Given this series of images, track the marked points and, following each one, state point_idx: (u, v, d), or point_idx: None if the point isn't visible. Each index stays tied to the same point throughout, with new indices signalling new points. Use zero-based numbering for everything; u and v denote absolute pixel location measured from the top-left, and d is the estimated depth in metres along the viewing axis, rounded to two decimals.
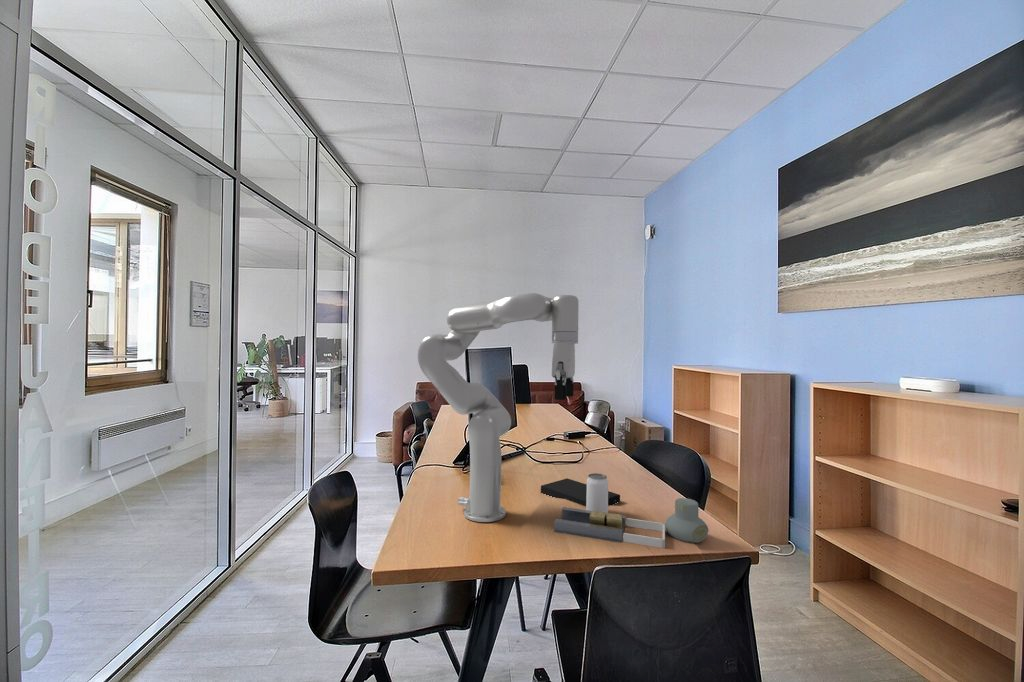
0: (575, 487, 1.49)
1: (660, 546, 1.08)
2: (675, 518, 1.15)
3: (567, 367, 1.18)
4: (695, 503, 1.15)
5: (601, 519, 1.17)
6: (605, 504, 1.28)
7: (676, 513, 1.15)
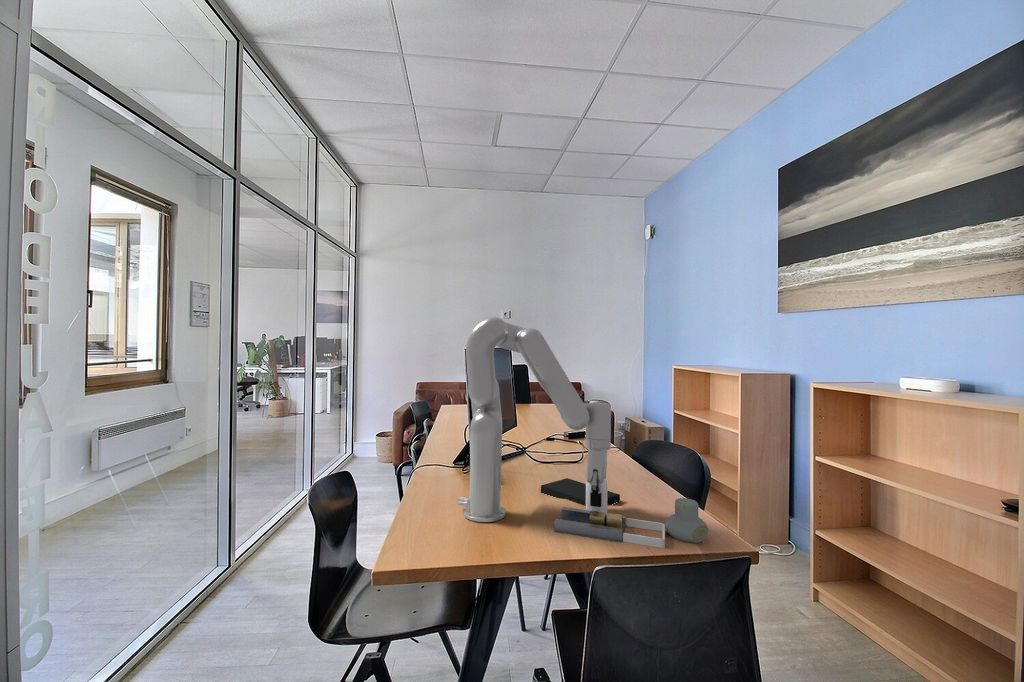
0: (575, 487, 1.49)
1: (660, 546, 1.08)
2: (675, 518, 1.15)
3: (601, 475, 1.26)
4: (695, 503, 1.15)
5: (601, 519, 1.17)
6: (604, 504, 1.28)
7: (676, 513, 1.15)
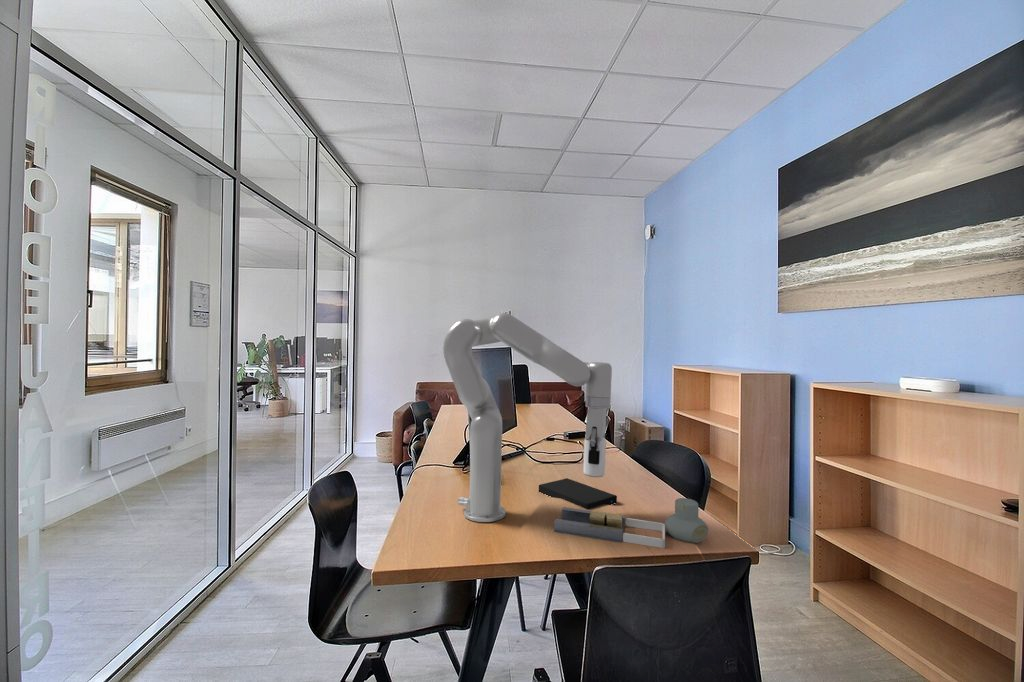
0: (572, 487, 1.49)
1: (660, 546, 1.08)
2: (675, 518, 1.15)
3: (600, 432, 1.26)
4: (695, 503, 1.15)
5: (601, 519, 1.17)
6: (602, 462, 1.29)
7: (676, 513, 1.15)
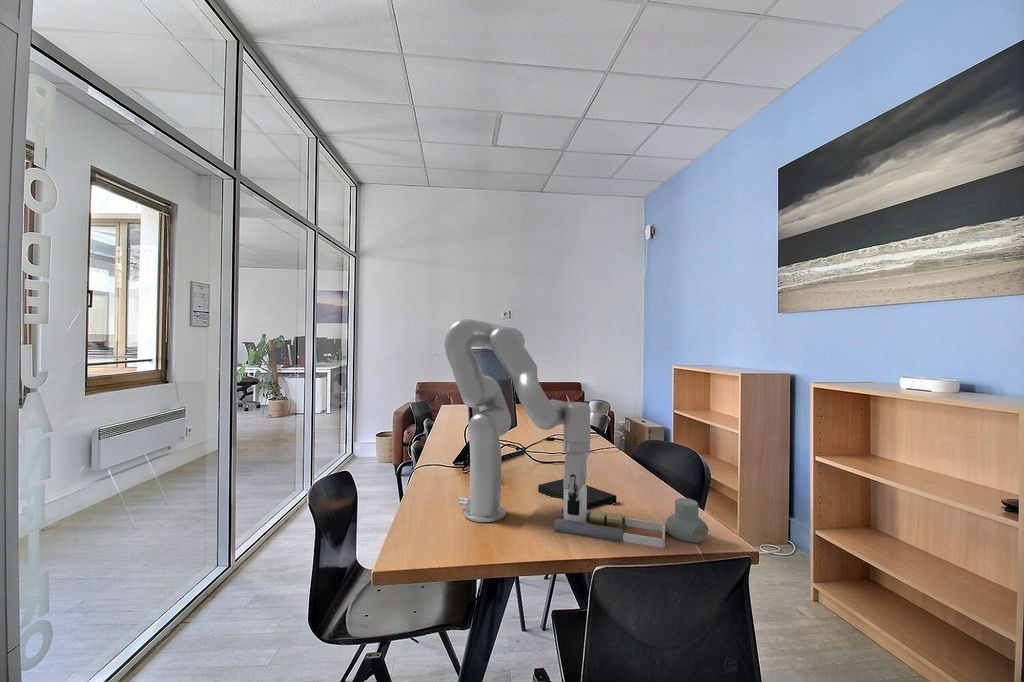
0: None
1: (660, 546, 1.08)
2: (675, 518, 1.15)
3: (579, 480, 1.16)
4: (695, 503, 1.15)
5: (601, 519, 1.17)
6: (583, 512, 1.18)
7: (676, 513, 1.15)
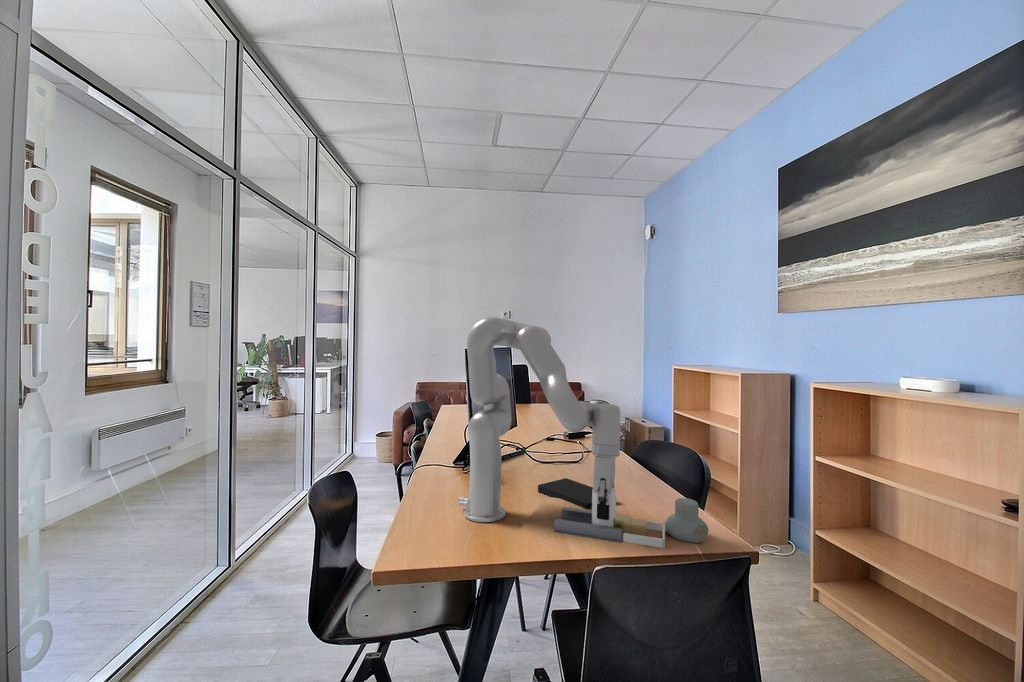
0: (572, 487, 1.49)
1: (660, 546, 1.08)
2: (675, 518, 1.15)
3: (610, 484, 1.13)
4: (695, 503, 1.15)
5: (626, 522, 1.14)
6: (612, 516, 1.16)
7: (676, 513, 1.15)
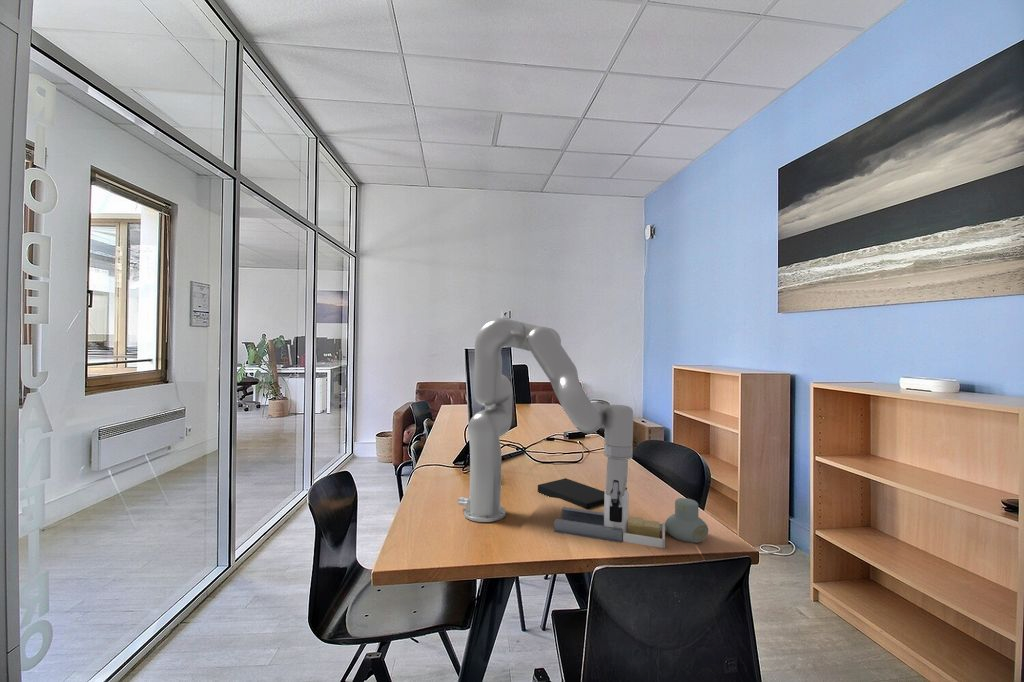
0: (571, 487, 1.49)
1: (660, 546, 1.08)
2: (675, 518, 1.15)
3: (623, 486, 1.12)
4: (695, 503, 1.15)
5: (639, 525, 1.13)
6: (625, 519, 1.15)
7: (676, 513, 1.15)
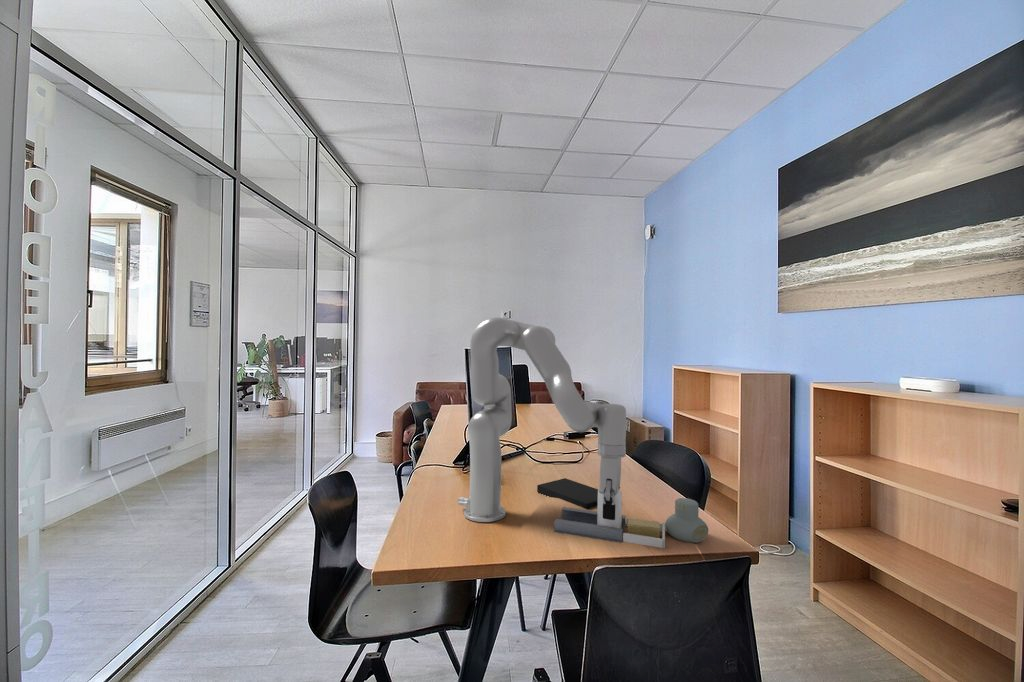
0: (571, 487, 1.49)
1: (660, 546, 1.08)
2: (675, 518, 1.15)
3: (616, 485, 1.13)
4: (695, 503, 1.15)
5: (640, 526, 1.13)
6: (618, 518, 1.15)
7: (676, 513, 1.15)
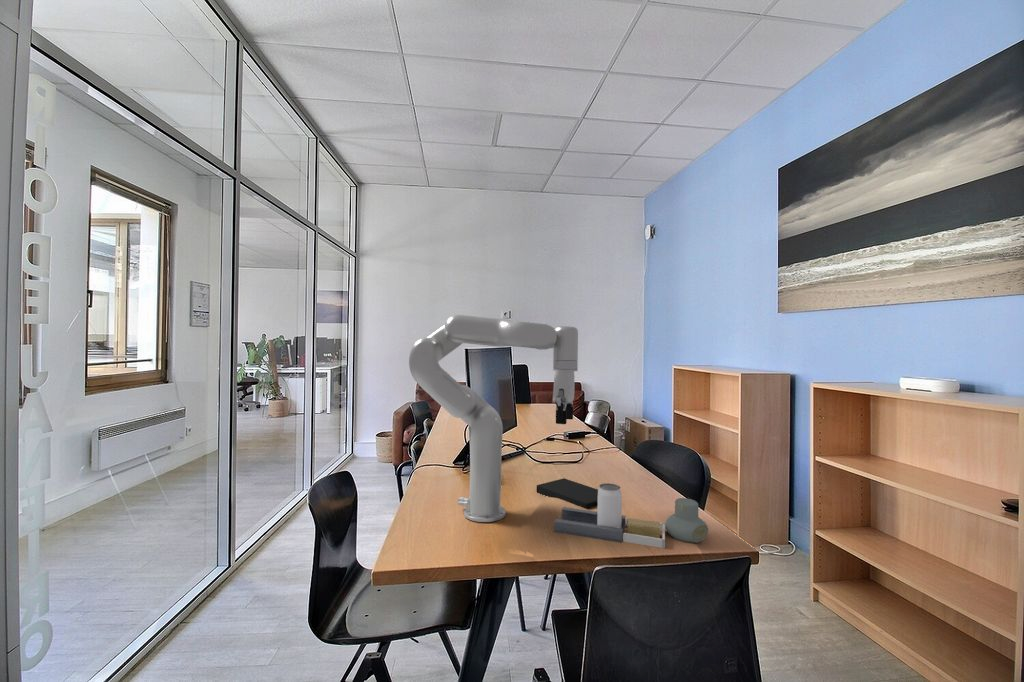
0: (570, 487, 1.49)
1: (660, 546, 1.08)
2: (675, 518, 1.15)
3: (567, 394, 1.28)
4: (695, 503, 1.15)
5: (640, 526, 1.13)
6: (618, 518, 1.15)
7: (676, 513, 1.15)
